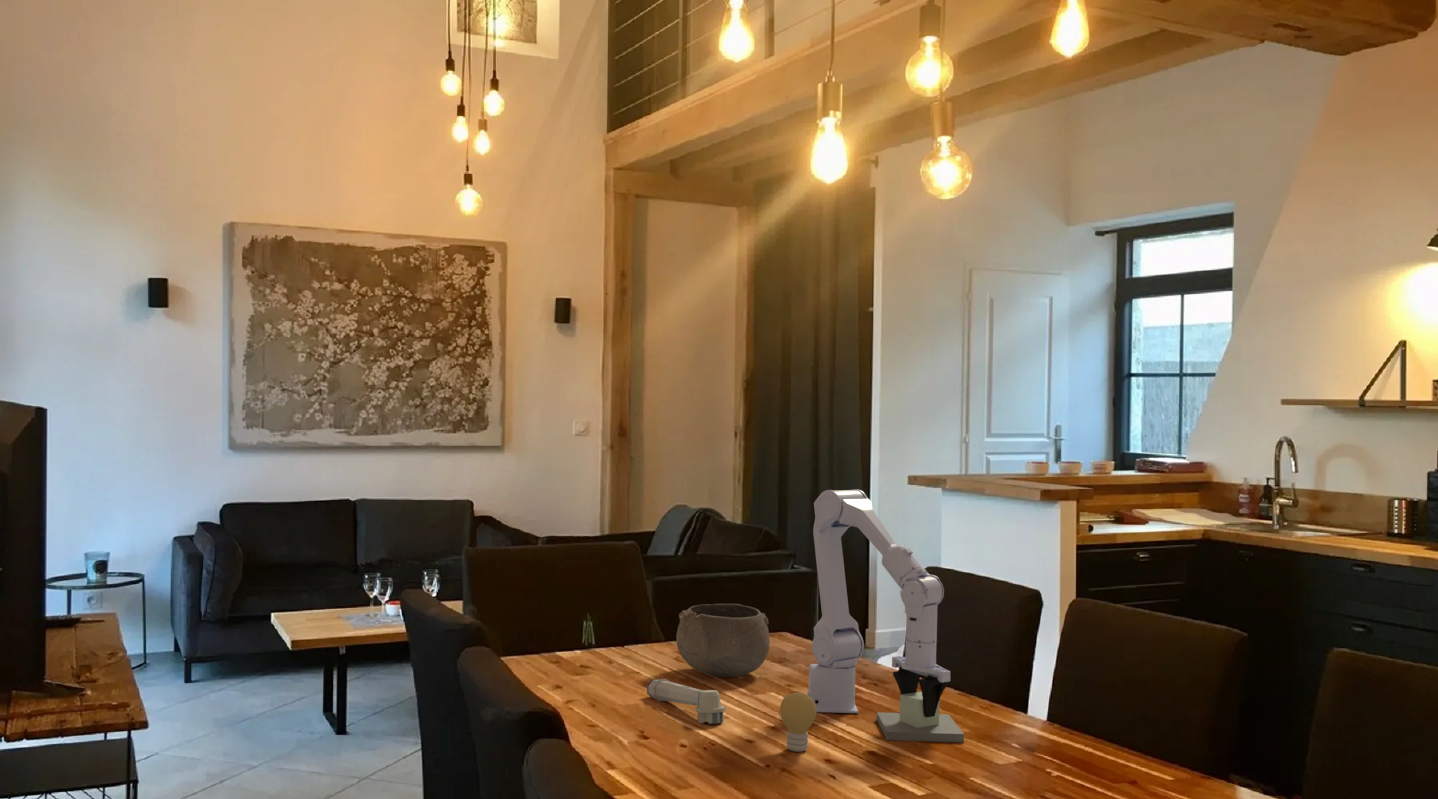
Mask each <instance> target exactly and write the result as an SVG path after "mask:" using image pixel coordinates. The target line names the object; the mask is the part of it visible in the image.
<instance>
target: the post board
mask: <svg viewBox="0 0 1438 799" xmlns="http://www.w3.org/2000/svg"><path fill="white" fill-rule="evenodd" d="M876 722H877V723H878V725H879V727H880V729H881V732H882V733H883V736H884V737H885V739H886V740H887V741H903V742H904V741H905V742H906V741H907V742H936V743H938V742H941V743H942V742H943V743H964V742H965V733H964V732H963V731H962V729H961V728H960V727H959V726H958V724H957V723H956V722H955V721H954V719H953V718H952V717H951V716H950V714H949V713H948V714H946V713H945V714H944V713H943V714H942V713H939V725H932V726H926V727H919V728H917V727H915V726H912V725H909V724H906V723H904V722H901V721H900V712H884V711H883V712H881V711H880V712H879V711H877V712H876Z"/></svg>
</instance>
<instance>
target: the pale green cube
mask: <svg viewBox="0 0 1438 799" xmlns="http://www.w3.org/2000/svg"><path fill="white" fill-rule="evenodd" d="M940 700H941V699H940ZM940 700H939V702H938V706H937V709H936V713H935V716H933V717H924V712H923V697H922V691H917V692H916V693H908V694H901V693H899V713H900V721H901V722H904V723H906V724H909V725H912V726H915V727H917V728H919V727H926V726H932V725H939V714H940V704H941V703H940Z"/></svg>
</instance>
